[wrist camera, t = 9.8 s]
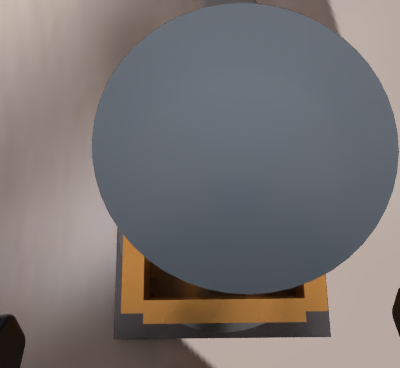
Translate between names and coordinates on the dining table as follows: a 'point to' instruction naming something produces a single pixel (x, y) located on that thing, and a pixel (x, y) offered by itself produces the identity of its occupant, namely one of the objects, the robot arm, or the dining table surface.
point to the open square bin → (208, 306)
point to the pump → (245, 148)
